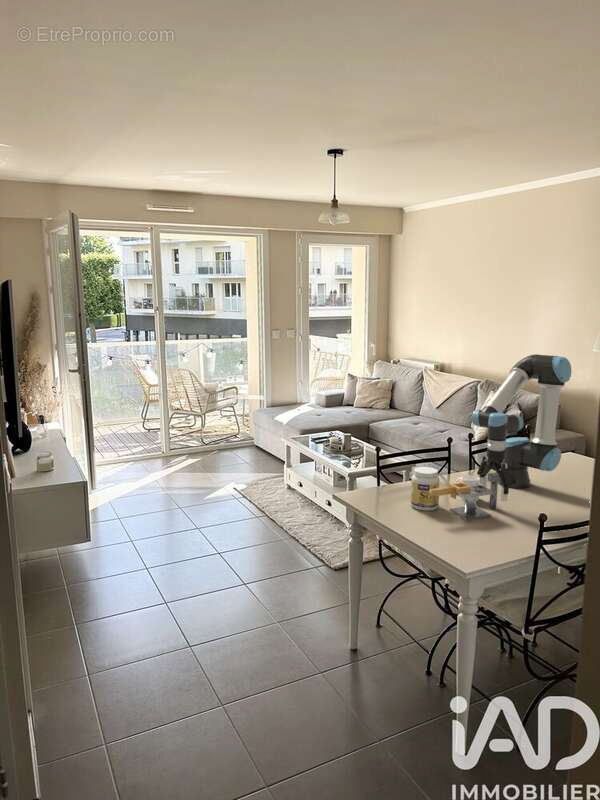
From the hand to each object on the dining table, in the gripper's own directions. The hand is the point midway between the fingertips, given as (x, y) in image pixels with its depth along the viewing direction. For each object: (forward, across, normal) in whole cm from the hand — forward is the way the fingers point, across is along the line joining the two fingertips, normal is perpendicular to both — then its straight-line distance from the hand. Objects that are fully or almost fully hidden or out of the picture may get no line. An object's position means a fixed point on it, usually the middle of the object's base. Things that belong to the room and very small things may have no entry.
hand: (493, 496), depth 259 cm
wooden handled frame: (-2, +1, -24) cm, 25 cm away
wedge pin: (+6, 0, 0) cm, 6 cm away
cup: (+6, -16, -2) cm, 17 cm away
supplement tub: (+6, -14, -26) cm, 30 cm away
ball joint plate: (+6, +1, -14) cm, 15 cm away
